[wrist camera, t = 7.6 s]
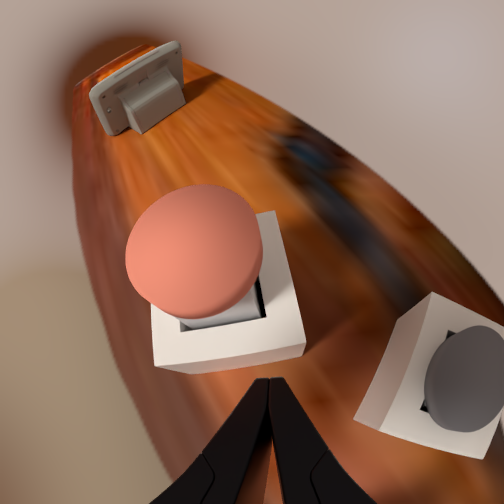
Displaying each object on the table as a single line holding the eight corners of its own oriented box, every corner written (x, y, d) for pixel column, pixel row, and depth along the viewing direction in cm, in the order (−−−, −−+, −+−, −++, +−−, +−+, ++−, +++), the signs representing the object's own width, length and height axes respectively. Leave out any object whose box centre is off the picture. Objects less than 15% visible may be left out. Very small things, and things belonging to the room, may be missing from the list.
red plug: (280, 333, 18) (273, 293, 11) (186, 349, 18) (123, 319, 11) (262, 248, 21) (247, 172, 14) (179, 265, 21) (130, 202, 14)
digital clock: (184, 84, 44) (168, 35, 34) (207, 99, 40) (191, 42, 30) (105, 129, 41) (79, 83, 32) (116, 151, 37) (83, 98, 27)
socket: (437, 447, 15) (482, 459, 9) (352, 419, 18) (378, 430, 12) (473, 353, 18) (520, 335, 12) (397, 319, 21) (432, 291, 15)
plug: (436, 431, 16) (492, 440, 9) (375, 410, 18) (417, 418, 11) (462, 362, 18) (520, 343, 11) (406, 337, 20) (454, 310, 13)
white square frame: (301, 356, 21) (306, 342, 15) (192, 374, 21) (154, 366, 15) (279, 256, 25) (274, 210, 19) (182, 276, 26) (150, 238, 20)
